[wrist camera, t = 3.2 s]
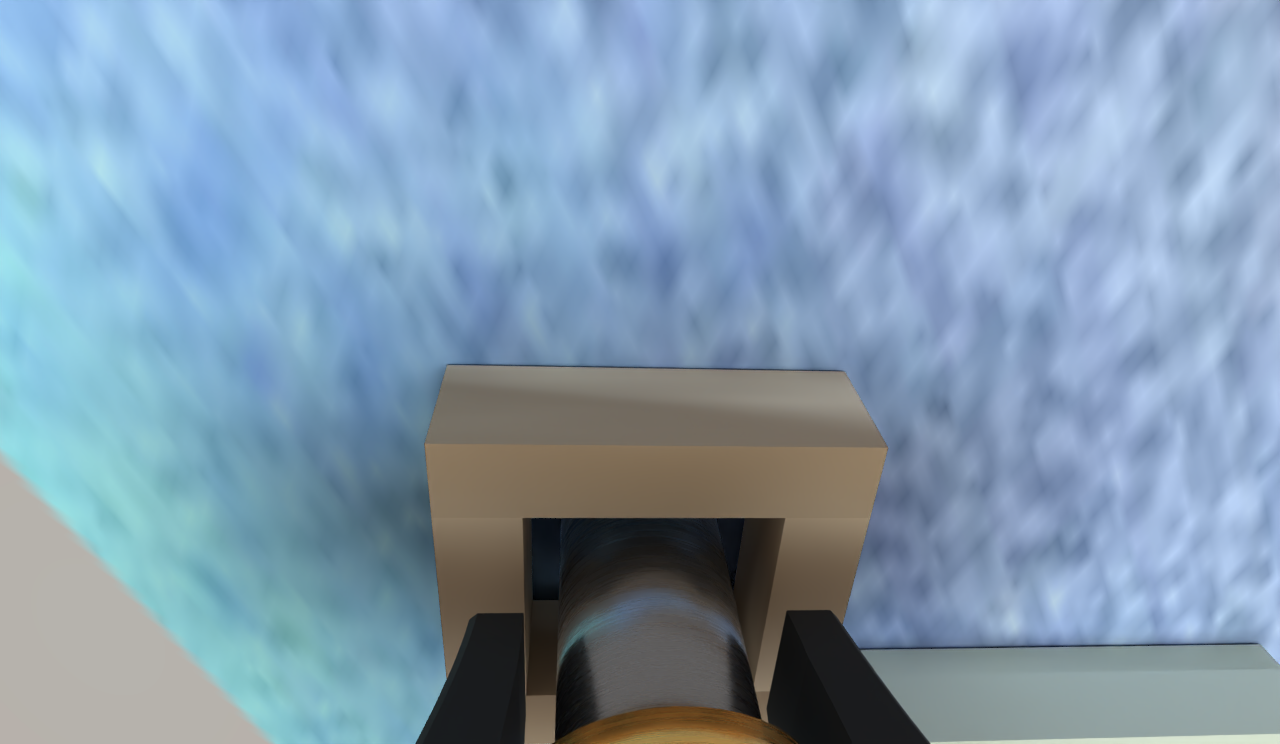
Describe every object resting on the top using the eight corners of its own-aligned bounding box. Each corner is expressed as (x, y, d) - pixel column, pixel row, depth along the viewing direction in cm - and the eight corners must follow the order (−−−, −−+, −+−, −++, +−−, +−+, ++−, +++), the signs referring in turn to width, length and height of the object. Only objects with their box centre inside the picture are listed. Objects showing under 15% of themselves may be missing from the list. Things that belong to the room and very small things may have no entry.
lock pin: (731, 597, 15) (811, 959, 10) (531, 599, 14) (507, 973, 9) (756, 434, 13) (871, 773, 8) (529, 432, 12) (496, 783, 7)
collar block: (786, 643, 15) (813, 738, 14) (468, 647, 15) (452, 745, 13) (844, 372, 12) (888, 447, 11) (446, 365, 12) (423, 443, 10)
